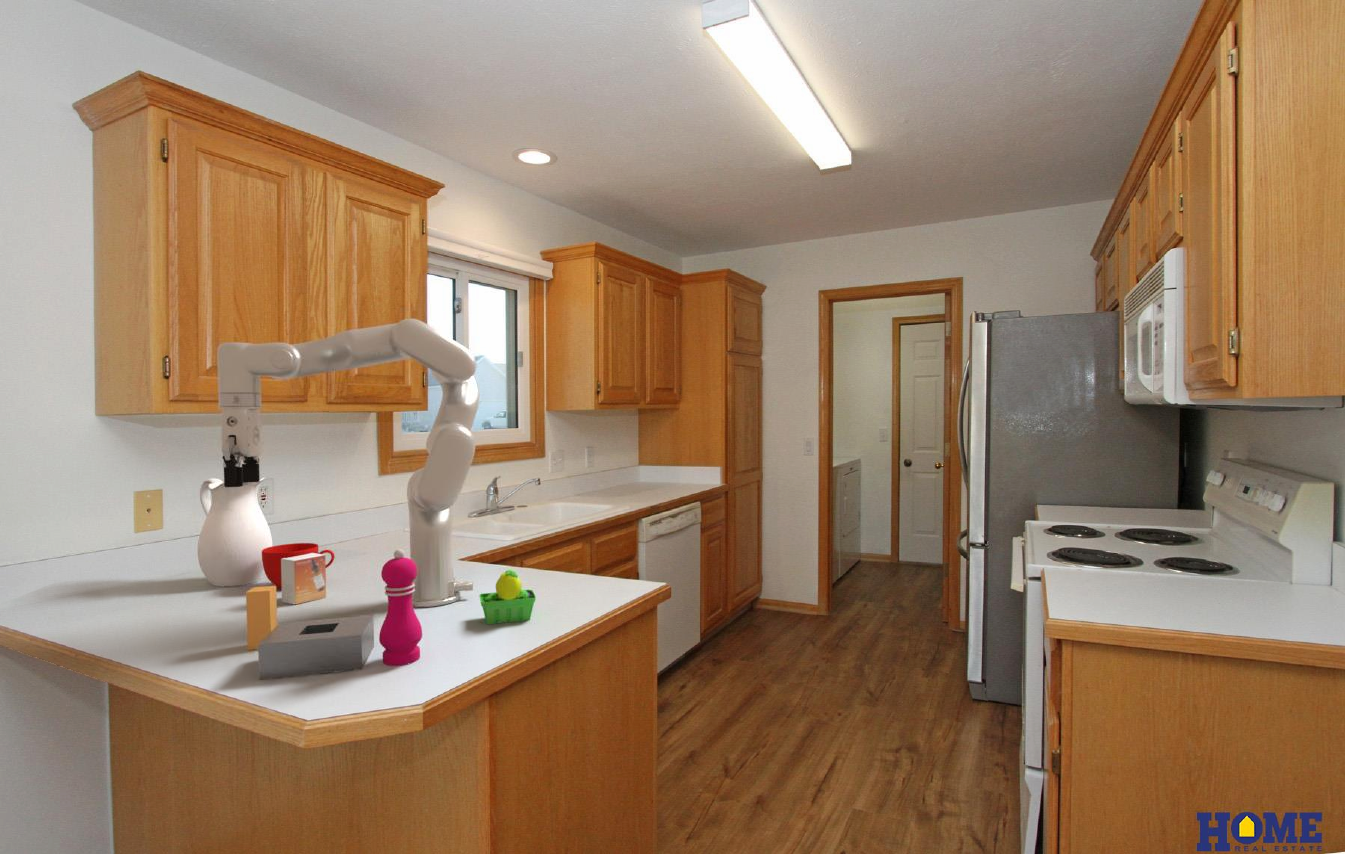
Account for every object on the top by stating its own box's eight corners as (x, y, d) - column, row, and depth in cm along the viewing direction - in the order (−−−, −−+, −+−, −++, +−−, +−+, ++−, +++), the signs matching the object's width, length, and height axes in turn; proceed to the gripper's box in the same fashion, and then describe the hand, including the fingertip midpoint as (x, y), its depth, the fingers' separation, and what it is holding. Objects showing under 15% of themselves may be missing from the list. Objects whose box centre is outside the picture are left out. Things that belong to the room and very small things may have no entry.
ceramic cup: (328, 589, 174) (327, 550, 174) (254, 594, 171) (253, 554, 170) (340, 577, 187) (340, 540, 187) (272, 581, 183) (271, 544, 183)
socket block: (374, 646, 130) (373, 615, 130) (362, 669, 119) (361, 634, 119) (280, 655, 126) (279, 623, 126) (259, 679, 115) (258, 644, 115)
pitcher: (285, 578, 186) (283, 476, 186) (218, 593, 172) (214, 482, 171) (241, 569, 199) (238, 473, 198) (174, 581, 185) (171, 478, 184)
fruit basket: (532, 611, 152) (531, 560, 152) (537, 622, 144) (536, 569, 144) (479, 616, 149) (478, 565, 149) (481, 629, 140) (480, 574, 140)
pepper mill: (387, 653, 127) (384, 545, 126) (427, 651, 127) (425, 544, 127) (373, 668, 119) (371, 553, 119) (416, 666, 120) (413, 552, 119)
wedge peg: (277, 641, 134) (276, 585, 134) (271, 648, 130) (269, 590, 130) (254, 643, 133) (253, 587, 133) (247, 650, 129) (246, 592, 129)
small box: (294, 605, 160) (293, 560, 159) (281, 602, 163) (280, 558, 162) (327, 597, 166) (326, 554, 166) (314, 594, 169) (313, 552, 169)
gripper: (245, 401, 135) (247, 488, 135) (273, 402, 152) (275, 479, 152) (202, 402, 133) (204, 489, 134) (235, 403, 150) (238, 481, 150)
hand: (242, 484), depth 143 cm, fingers open, 9 cm apart
